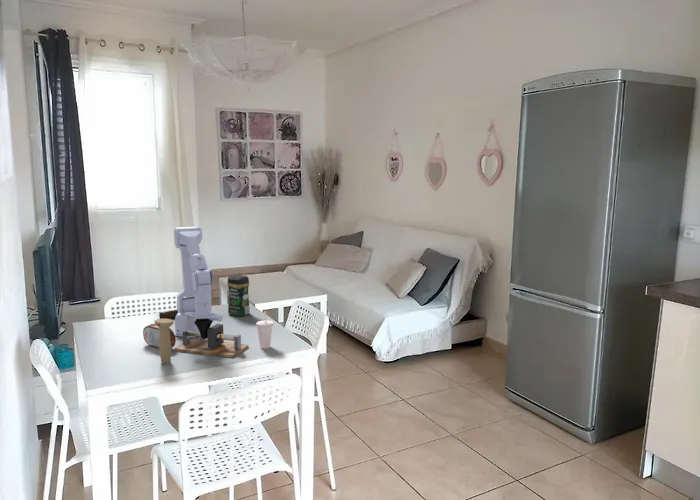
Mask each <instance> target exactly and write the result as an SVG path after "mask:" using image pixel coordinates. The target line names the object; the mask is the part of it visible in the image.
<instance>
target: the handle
mask: <svg viewBox="0 0 700 500" xmlns="http://www.w3.org/2000/svg"><path fill="white" fill-rule="evenodd" d="M154 324H155V325H156V326H158V327H159V348H158V350H159V357H160V362H161V363H162V364H163V365H164V364H170V363H171V362H172V358H171V357H172V348H171V339H170V330H169V328H170V327H172V326H173V325H174V320H173V319H172V318H170V319H160V318H158V319H155V320H154ZM170 329H171V328H170Z"/></svg>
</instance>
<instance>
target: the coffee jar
mask: <svg viewBox="0 0 700 500" xmlns="http://www.w3.org/2000/svg"><path fill="white" fill-rule="evenodd" d="M227 286H228V287H227V288H228V304H227V305H228V306H227V307H228V308H227V311H228V312H227V313H228V314H229V315H231V316H235V317H244V316H245V317H246V316H248V315H249V314H250V313H251V312H250V311H251V310H250V301H249V300H250V299H249V298H250V297H249V286H250V278H249V276H247V275H242V274H235V273H234V274H231V275H228V277H227Z"/></svg>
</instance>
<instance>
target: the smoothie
mask: <svg viewBox="0 0 700 500" xmlns="http://www.w3.org/2000/svg"><path fill="white" fill-rule="evenodd" d="M263 312H264V319H263V320H262V319H261V320H259V321H257V322H256V328H257V333H258V341H259V348H260V349H263V350H264V349H265V350H267V349H270V348H271V345H272V343H271V342H272V335H273V334H272V333H273V326H274V321H272V320H269V319H267V311H263Z"/></svg>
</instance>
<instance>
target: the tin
mask: <svg viewBox="0 0 700 500" xmlns="http://www.w3.org/2000/svg"><path fill="white" fill-rule="evenodd" d="M169 330H170V339H171V349H172V348H173V347H174V346H175V345H176V341H177V339H176V336H175V333H174V330H172V329H171V328H169ZM142 335H143V340H144V341H145V343H146V345H148V346H149V347H153V348H158V349H159V327H158V326H156V325H155V323H151V324H148V325H146V326H145V327H144V328H143V330H142Z"/></svg>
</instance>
